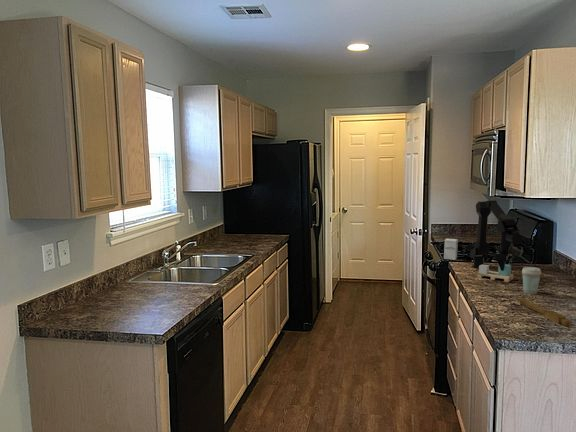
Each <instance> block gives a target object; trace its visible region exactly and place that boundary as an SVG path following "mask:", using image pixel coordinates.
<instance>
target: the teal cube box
mask: <svg viewBox="0 0 576 432" xmlns="http://www.w3.org/2000/svg"><path fill="white" fill-rule="evenodd" d="M497 269H498V270H497V272H498V274H499V275H506V276H508V275H510V274H512V272H511V271H512V270H511V269H512V265H511V264H509V265H508V264H505V267H504V271H501V269H500V267H499V264H498V268H497Z"/></svg>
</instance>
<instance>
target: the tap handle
mask: <svg viewBox="0 0 576 432" xmlns="http://www.w3.org/2000/svg"><path fill="white" fill-rule="evenodd" d="M518 303H519V304H520V305H522V306H524V307H527V308H528V309H530V310H533V311H535V312H537V313H539V314H540V315H541V314H542V315H543V316H544V318H545V319H547V320H550V321H552V322H554V323H555V324H558V325H562V326H564V327H570V326H571V321H570V320H569V319H567V318H566V316H565V315H563V314H560V313H558V312H557V311H554V310H551V309H544V308H543V307H542V306H539V305H538V304H536V303H533V302H532V301H530V300H527V299H525V298H524V297H521V298H520V299H519V302H518Z"/></svg>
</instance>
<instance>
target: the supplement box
mask: <svg viewBox="0 0 576 432" xmlns="http://www.w3.org/2000/svg"><path fill="white" fill-rule="evenodd" d="M458 244H459V239H458V238H448V237H447V238H445V239H444V247H443V249H444V250H443V251H444V252H443V260H453V261H455V260H457V259H458V246H459V245H458Z"/></svg>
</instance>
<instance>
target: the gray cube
mask: <svg viewBox="0 0 576 432" xmlns="http://www.w3.org/2000/svg"><path fill="white" fill-rule="evenodd" d="M489 271H490V265H487V264H484V265H480V266H479V268H478V272H479V273H483V274H487V273H489Z"/></svg>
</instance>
